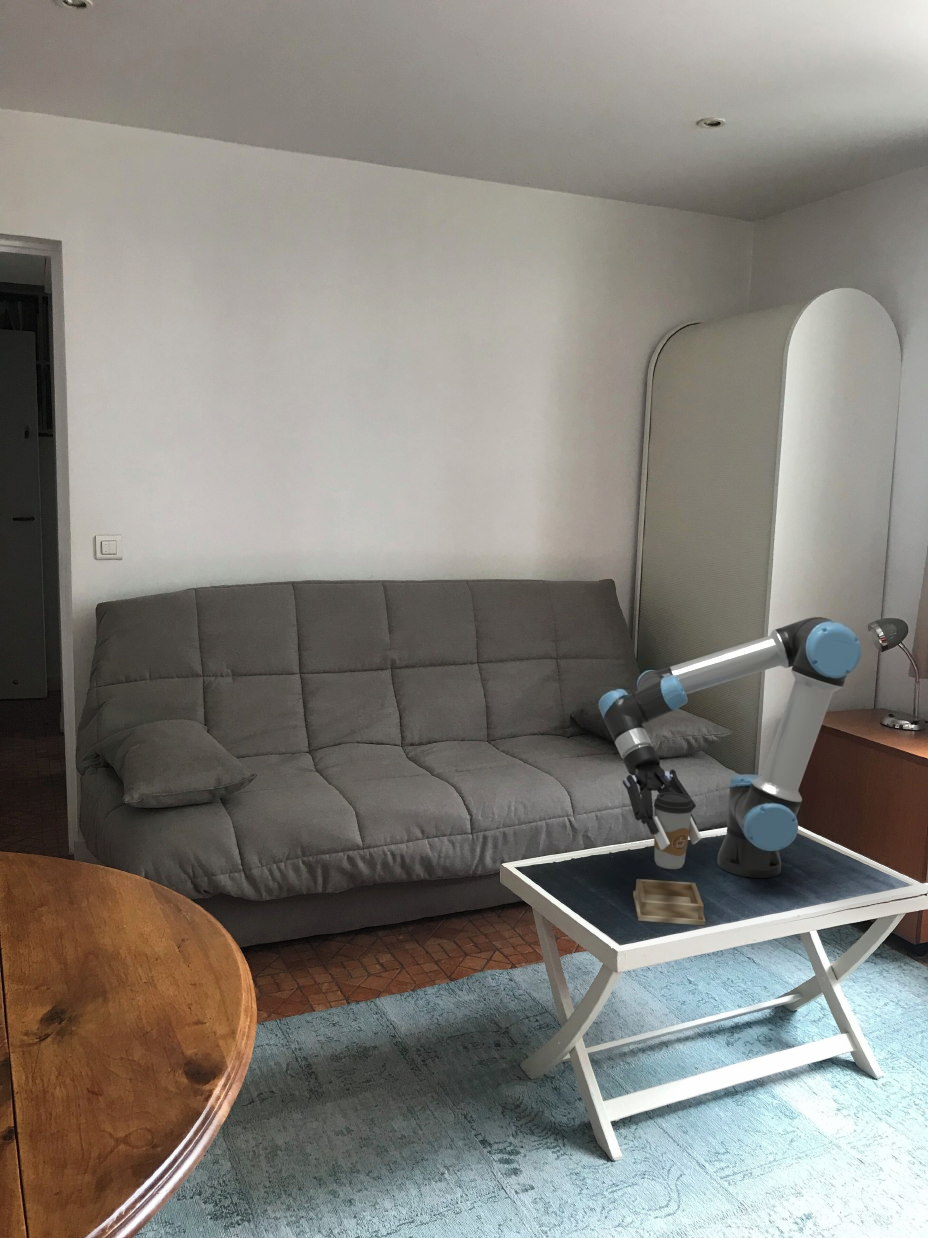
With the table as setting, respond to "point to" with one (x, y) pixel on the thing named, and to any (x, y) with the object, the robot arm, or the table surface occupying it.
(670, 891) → the open wooden box
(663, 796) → the coffee cup
